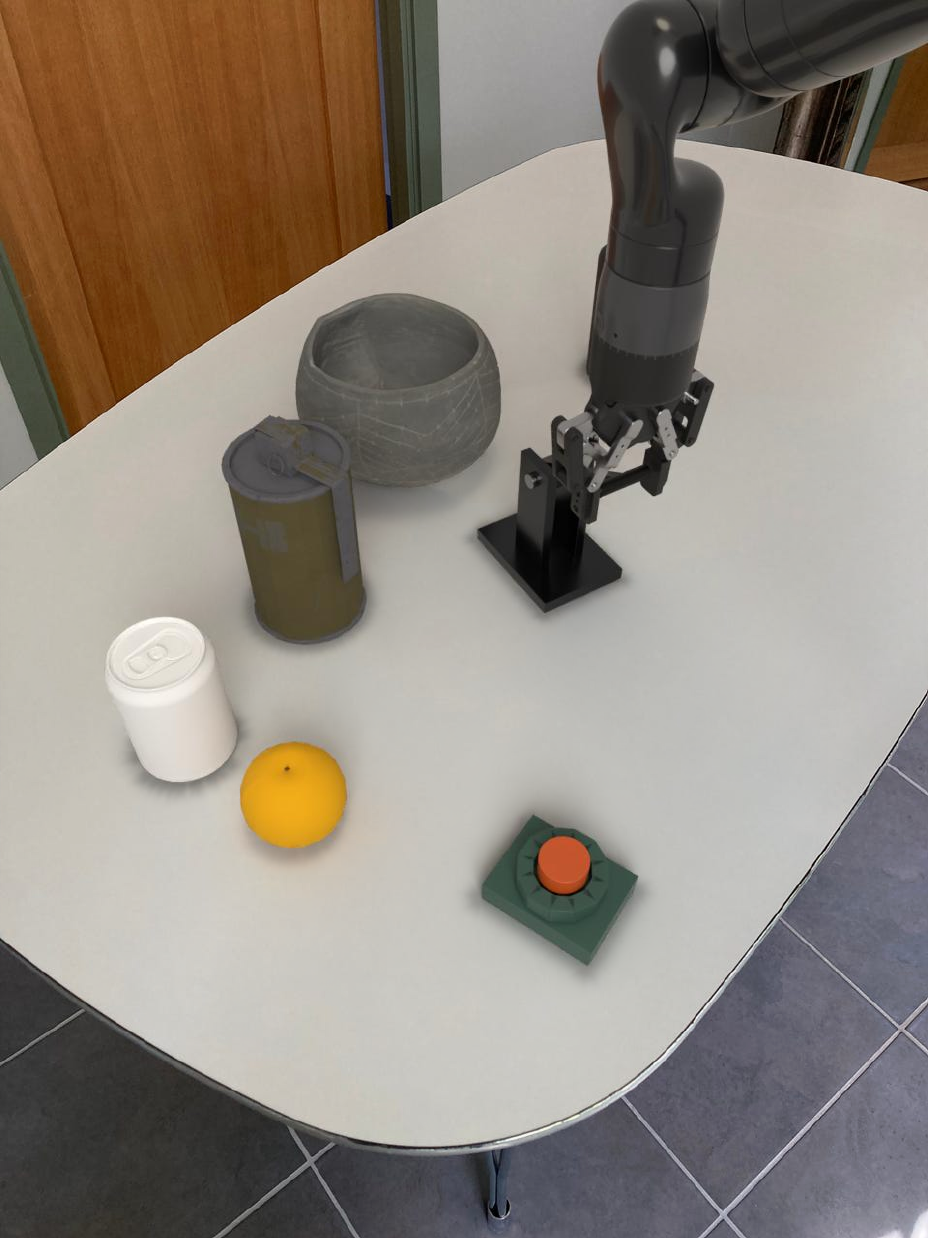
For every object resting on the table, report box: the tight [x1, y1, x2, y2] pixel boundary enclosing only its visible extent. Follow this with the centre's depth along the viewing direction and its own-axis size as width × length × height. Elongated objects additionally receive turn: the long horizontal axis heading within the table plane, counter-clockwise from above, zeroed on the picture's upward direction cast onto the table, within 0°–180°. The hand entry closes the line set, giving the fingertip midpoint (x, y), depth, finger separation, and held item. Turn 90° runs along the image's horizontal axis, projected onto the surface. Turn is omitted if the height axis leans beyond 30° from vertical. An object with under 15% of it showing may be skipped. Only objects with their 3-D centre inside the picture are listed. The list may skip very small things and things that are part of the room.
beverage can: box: [103, 616, 238, 783], centre depth 75 cm, size 8×8×12 cm
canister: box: [220, 414, 367, 645], centre depth 83 cm, size 11×10×20 cm
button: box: [537, 836, 590, 894], centre depth 67 cm, size 4×4×2 cm
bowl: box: [294, 292, 502, 488], centre depth 99 cm, size 21×21×15 cm
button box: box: [481, 814, 639, 967], centre depth 69 cm, size 9×7×4 cm
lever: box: [541, 454, 651, 499], centre depth 82 cm, size 12×5×2 cm
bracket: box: [477, 446, 623, 614], centre depth 90 cm, size 12×9×13 cm
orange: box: [239, 741, 348, 849], centre depth 72 cm, size 8×8×8 cm
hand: (618, 502), depth 79 cm, fingers open, 6 cm apart
